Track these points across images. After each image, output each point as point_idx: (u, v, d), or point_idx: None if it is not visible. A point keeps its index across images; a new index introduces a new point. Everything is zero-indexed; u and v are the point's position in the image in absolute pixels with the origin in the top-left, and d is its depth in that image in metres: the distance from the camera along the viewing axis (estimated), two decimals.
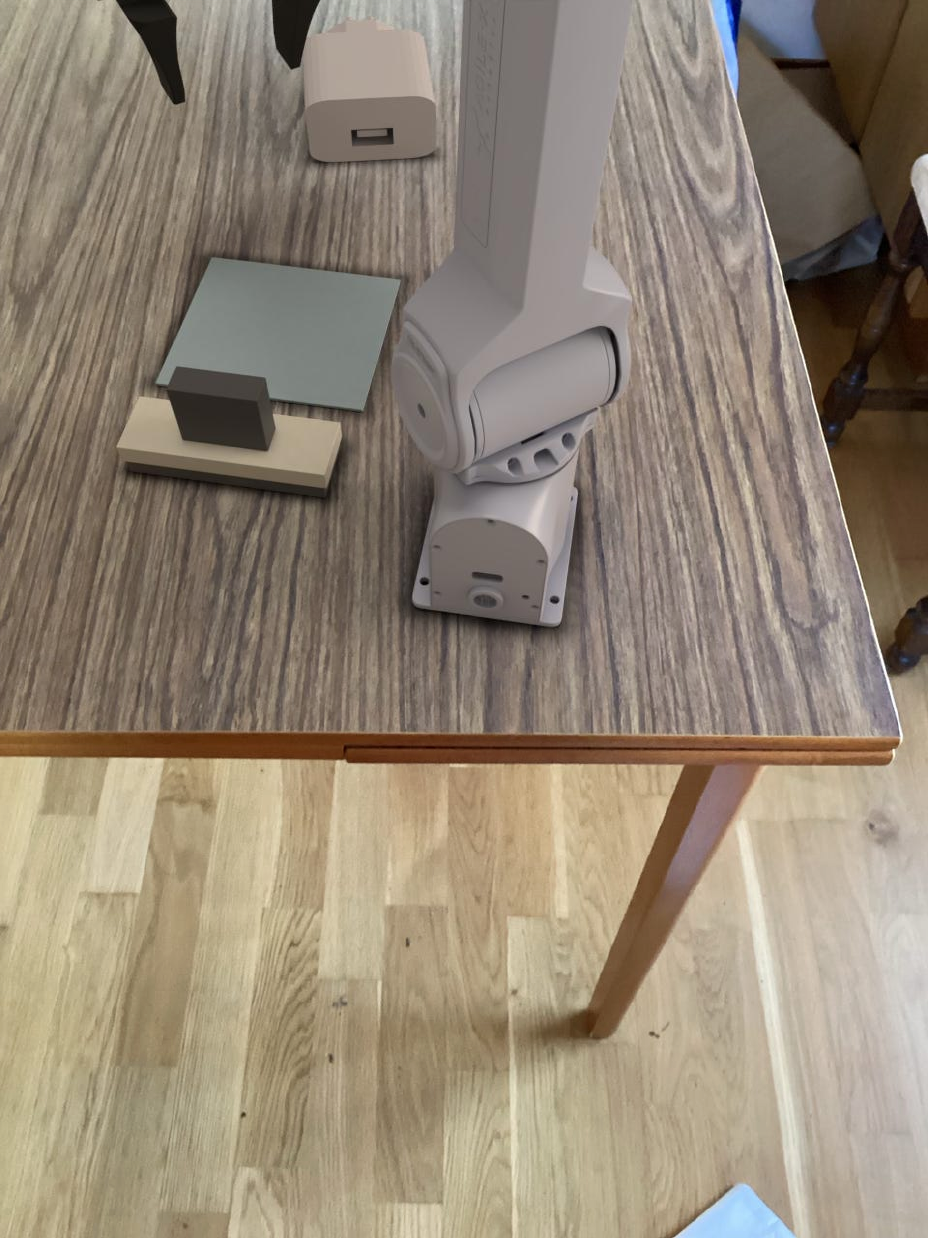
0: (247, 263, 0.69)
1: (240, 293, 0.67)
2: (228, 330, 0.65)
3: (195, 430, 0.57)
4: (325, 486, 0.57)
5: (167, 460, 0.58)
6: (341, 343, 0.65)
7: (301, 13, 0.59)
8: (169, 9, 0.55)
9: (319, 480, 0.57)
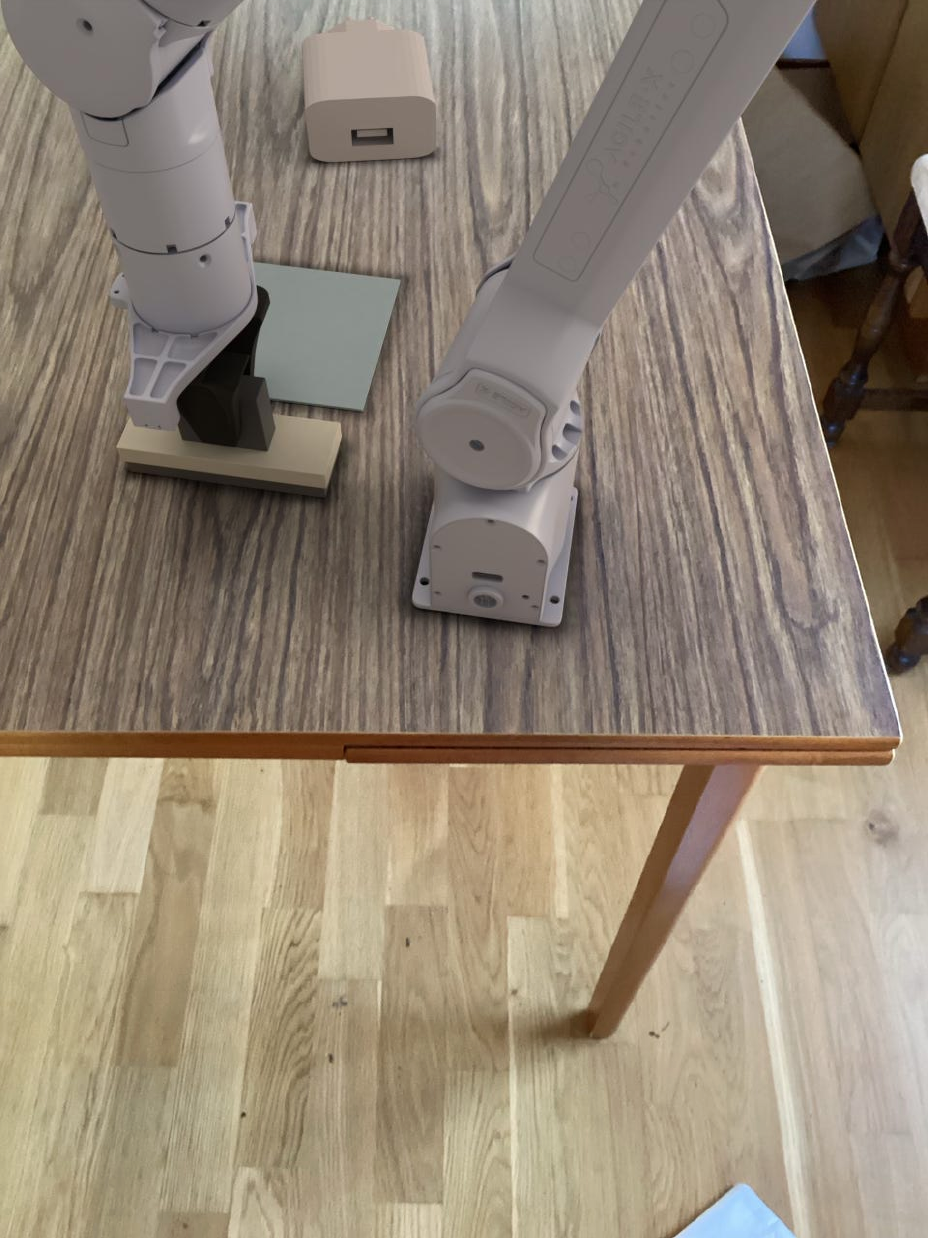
0: None
1: None
2: None
3: None
4: (325, 486, 0.57)
5: (167, 461, 0.58)
6: (341, 343, 0.65)
7: (252, 356, 0.55)
8: (239, 354, 0.51)
9: (319, 480, 0.57)
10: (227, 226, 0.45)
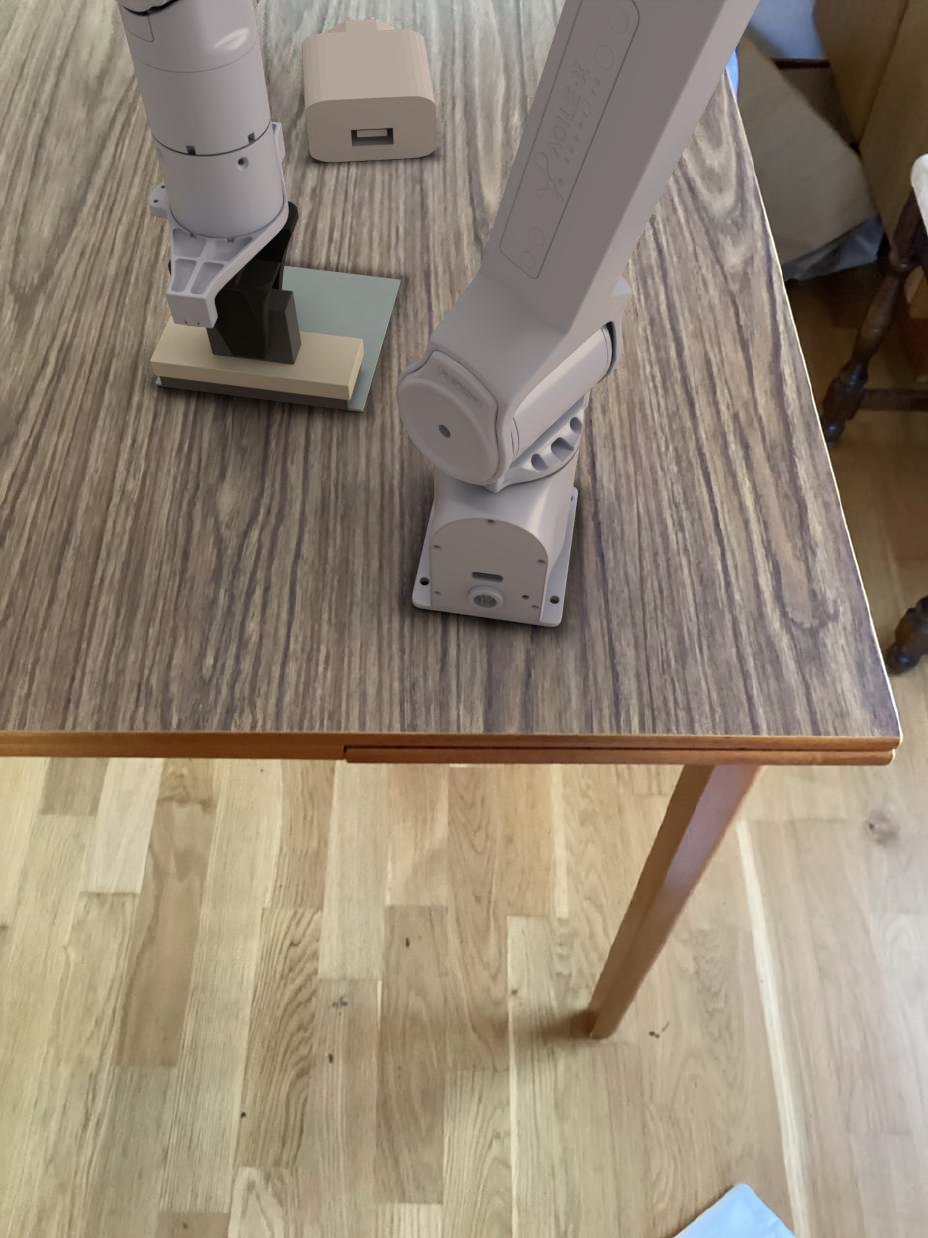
0: None
1: None
2: None
3: (225, 344, 0.60)
4: (349, 398, 0.60)
5: (198, 374, 0.61)
6: None
7: (281, 270, 0.58)
8: (271, 261, 0.54)
9: (343, 392, 0.60)
10: (263, 131, 0.48)
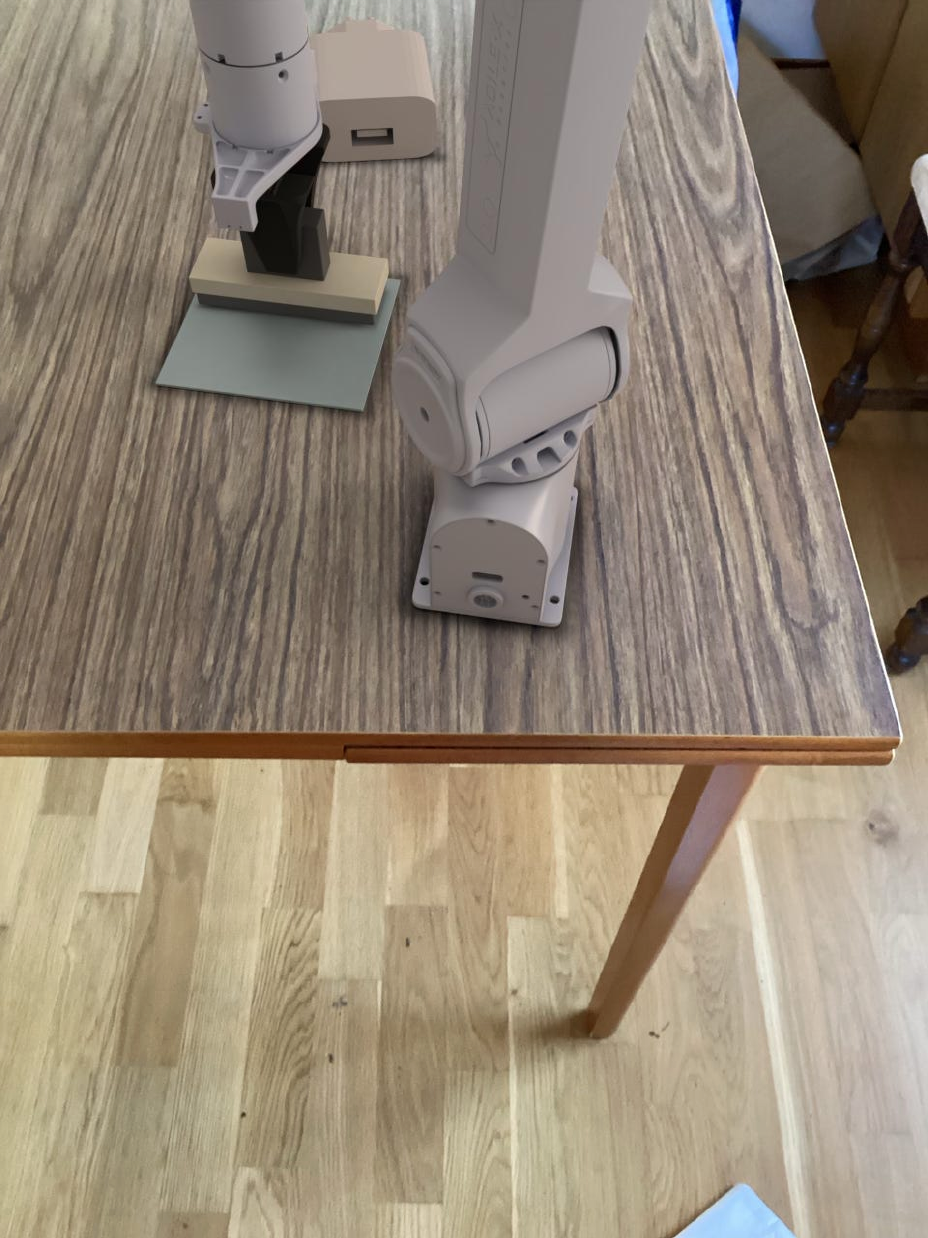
0: None
1: None
2: (228, 330, 0.65)
3: (260, 261, 0.64)
4: (375, 312, 0.64)
5: (233, 290, 0.65)
6: (341, 343, 0.65)
7: (313, 189, 0.61)
8: (305, 175, 0.58)
9: (370, 306, 0.64)
10: (302, 47, 0.52)
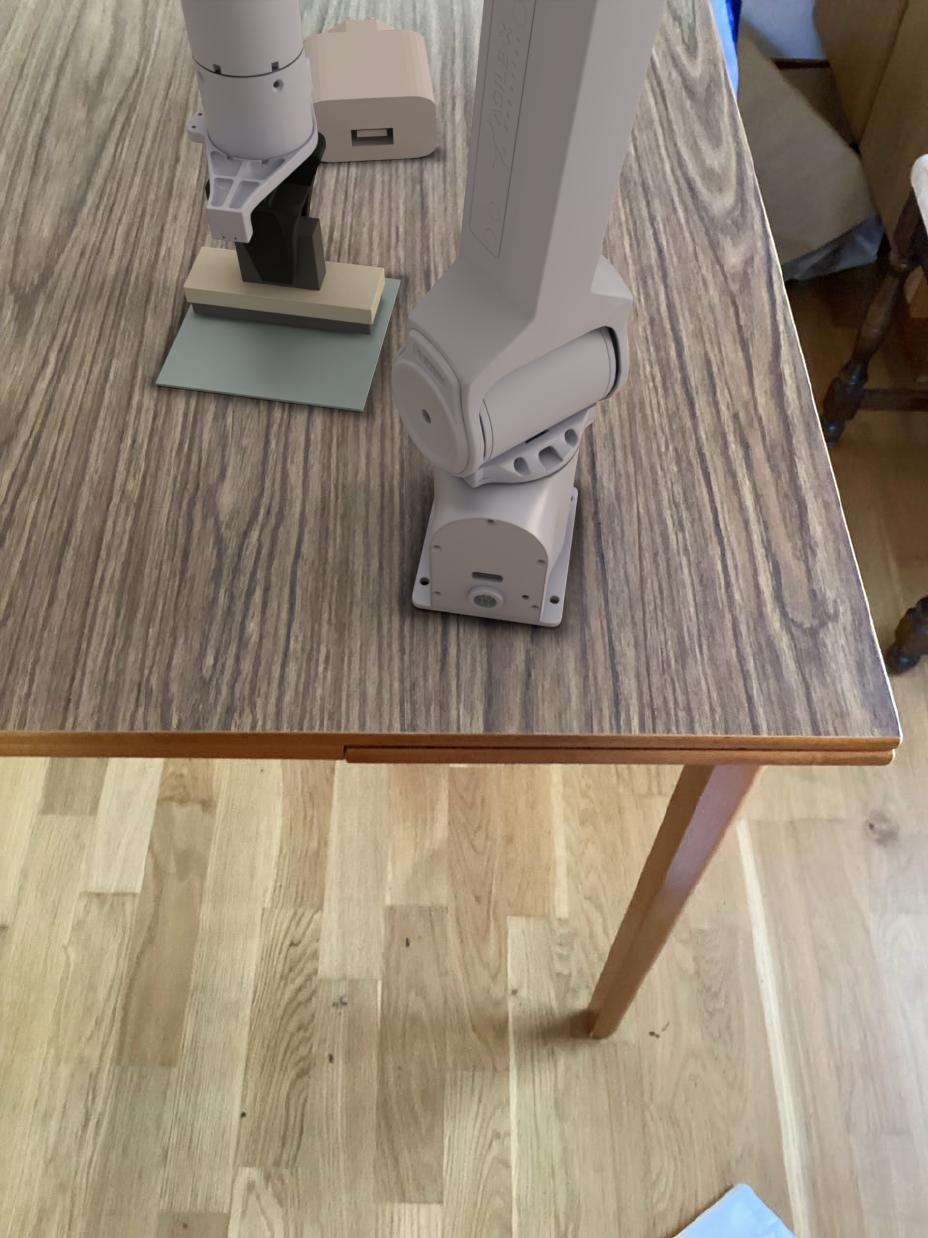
0: None
1: None
2: (228, 330, 0.65)
3: (255, 270, 0.63)
4: (371, 322, 0.64)
5: (228, 300, 0.64)
6: (341, 343, 0.65)
7: (309, 198, 0.61)
8: (301, 185, 0.57)
9: (366, 316, 0.63)
10: (297, 56, 0.52)
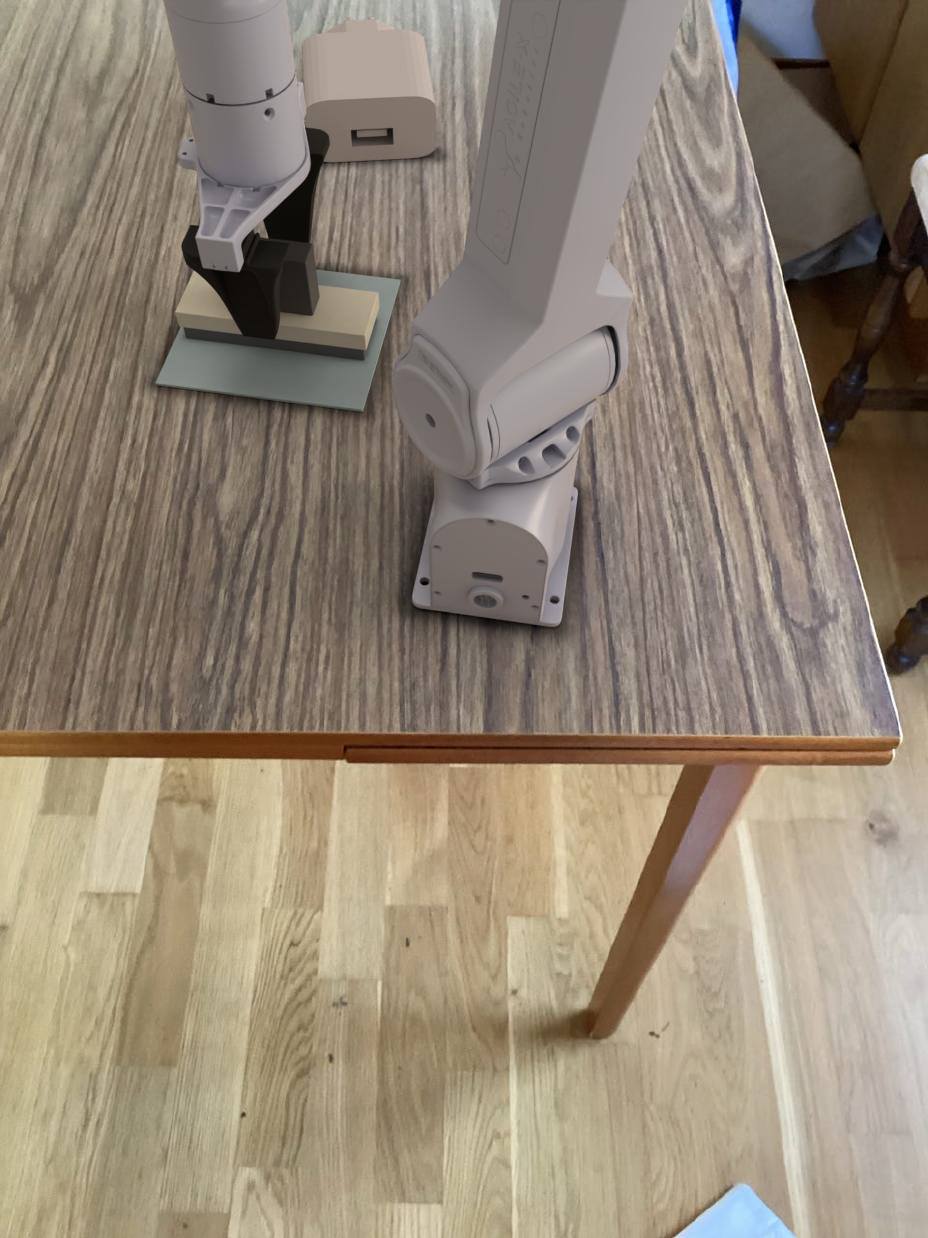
0: None
1: None
2: None
3: None
4: (365, 347, 0.63)
5: (221, 325, 0.63)
6: None
7: (312, 195, 0.62)
8: (281, 242, 0.55)
9: (359, 341, 0.63)
10: (288, 84, 0.51)
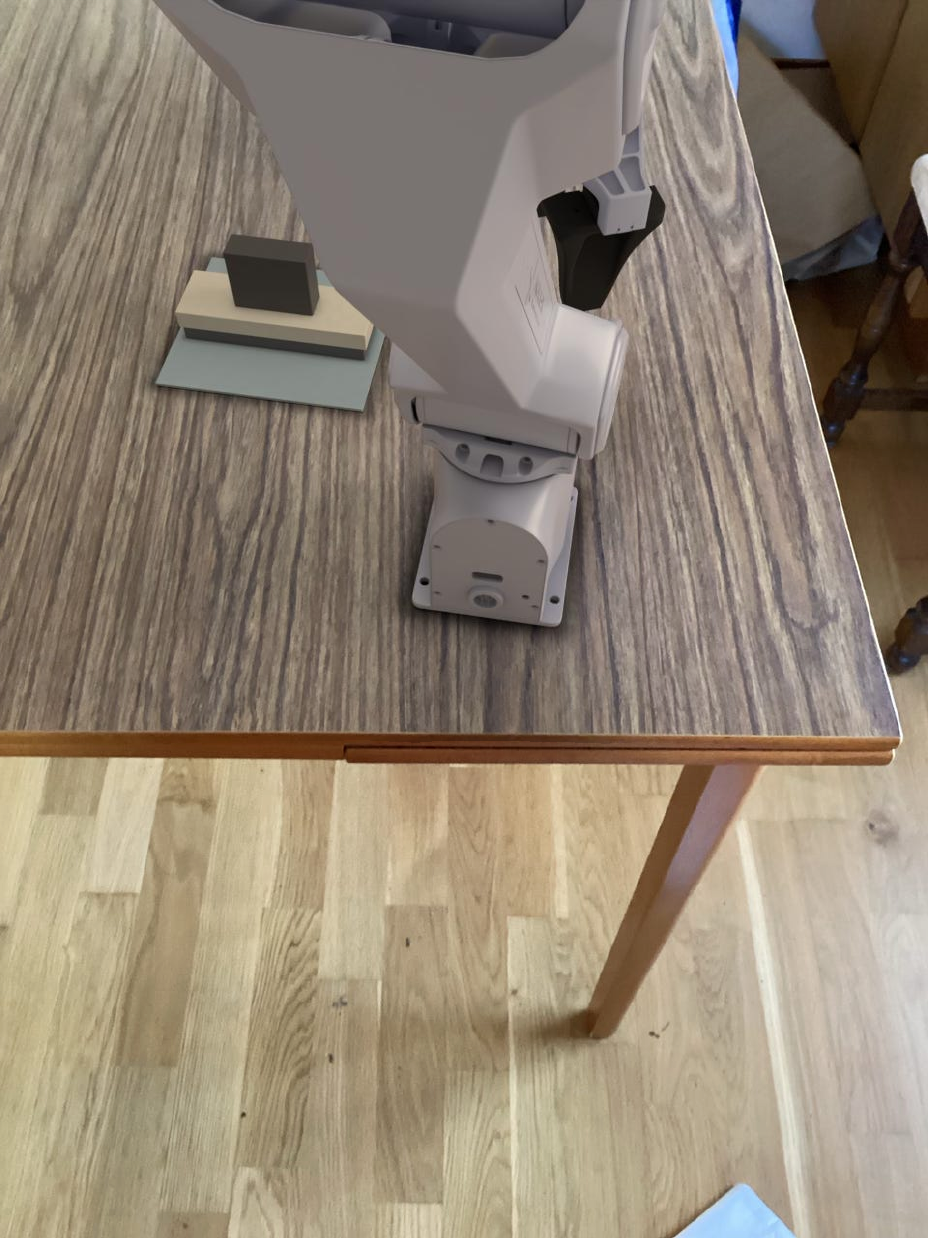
0: None
1: None
2: None
3: (247, 295, 0.62)
4: (365, 347, 0.63)
5: (221, 325, 0.63)
6: None
7: None
8: None
9: (359, 341, 0.63)
10: None
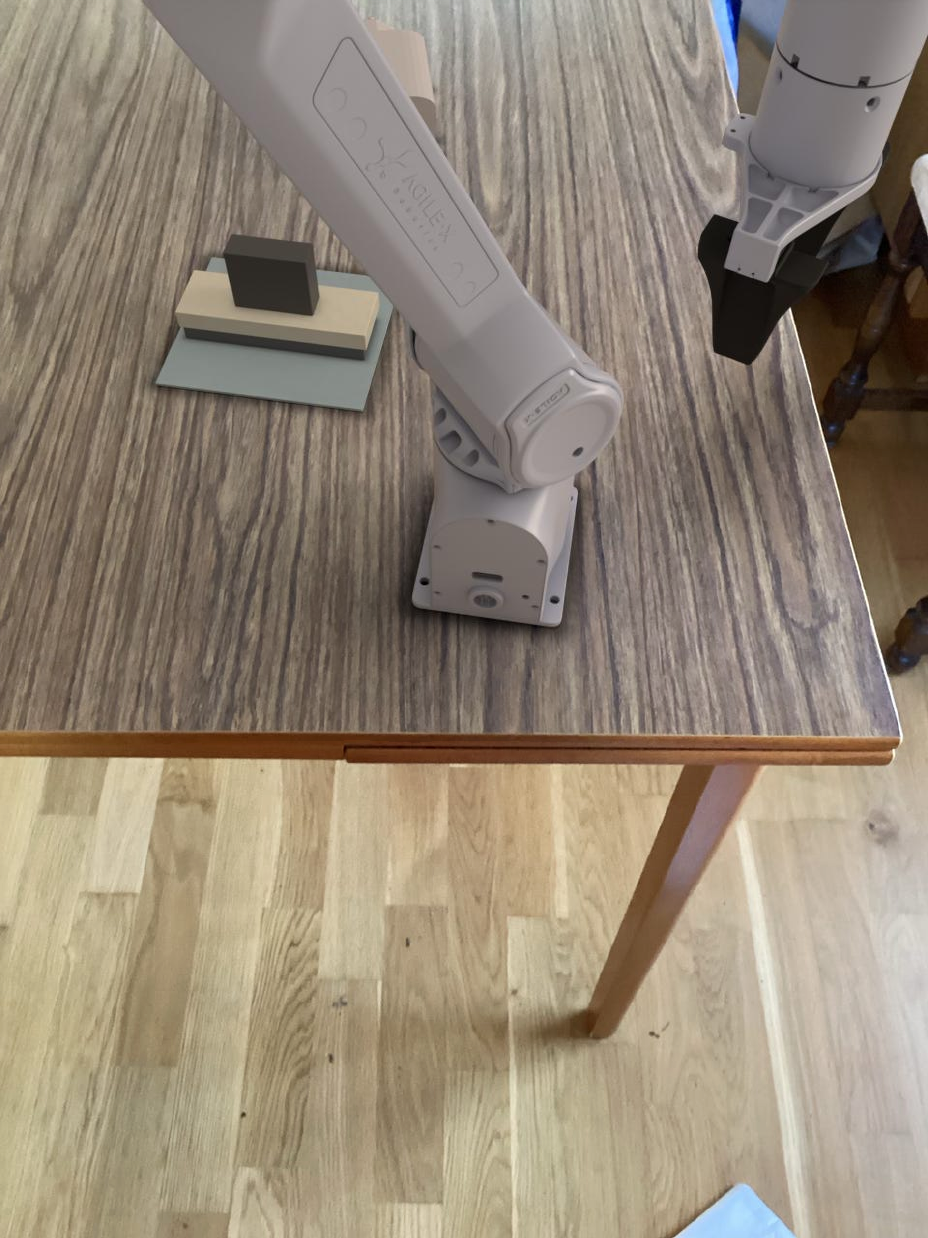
0: None
1: None
2: None
3: (247, 295, 0.62)
4: (365, 347, 0.63)
5: (221, 325, 0.63)
6: None
7: (842, 211, 0.52)
8: (817, 258, 0.45)
9: (359, 341, 0.63)
10: (907, 73, 0.41)
